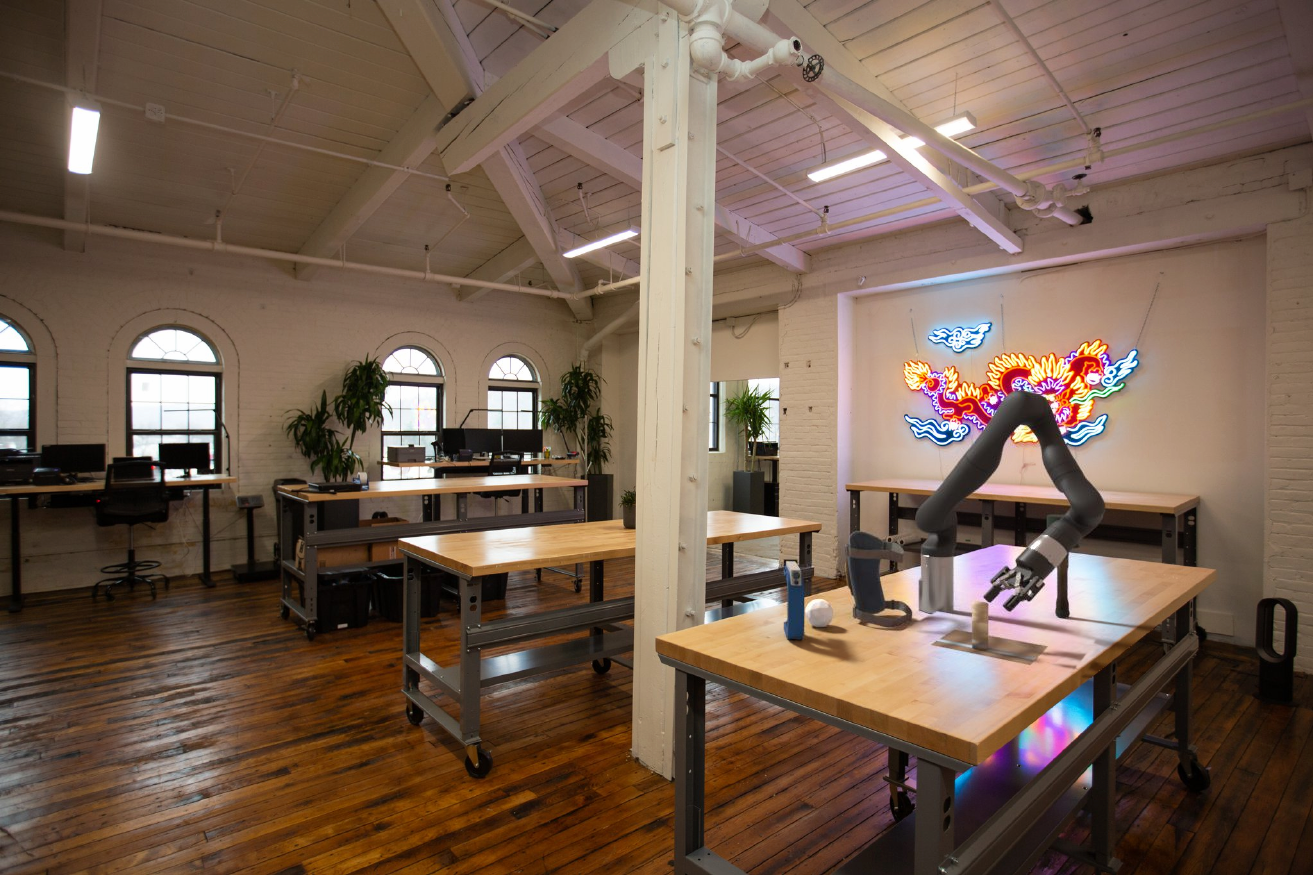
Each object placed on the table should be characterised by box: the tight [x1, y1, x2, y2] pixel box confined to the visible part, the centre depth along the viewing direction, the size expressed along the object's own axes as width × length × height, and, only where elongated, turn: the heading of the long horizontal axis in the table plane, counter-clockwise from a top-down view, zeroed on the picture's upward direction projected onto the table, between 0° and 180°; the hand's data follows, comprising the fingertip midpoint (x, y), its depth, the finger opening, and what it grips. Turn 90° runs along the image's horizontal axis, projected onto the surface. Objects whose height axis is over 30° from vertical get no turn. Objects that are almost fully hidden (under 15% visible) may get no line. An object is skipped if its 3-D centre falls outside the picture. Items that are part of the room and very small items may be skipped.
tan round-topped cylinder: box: [971, 600, 989, 650], centre depth 161 cm, size 4×4×11 cm
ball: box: [804, 598, 835, 628], centre depth 185 cm, size 8×8×8 cm
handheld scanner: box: [783, 558, 805, 640], centre depth 176 cm, size 4×16×19 cm, turn 174°
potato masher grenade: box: [1046, 513, 1080, 619], centre depth 195 cm, size 8×9×30 cm
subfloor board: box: [930, 628, 1048, 666], centre depth 163 cm, size 22×18×2 cm
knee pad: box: [843, 530, 913, 629], centre depth 193 cm, size 18×20×25 cm
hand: (995, 604), depth 161 cm, fingers open, 8 cm apart
